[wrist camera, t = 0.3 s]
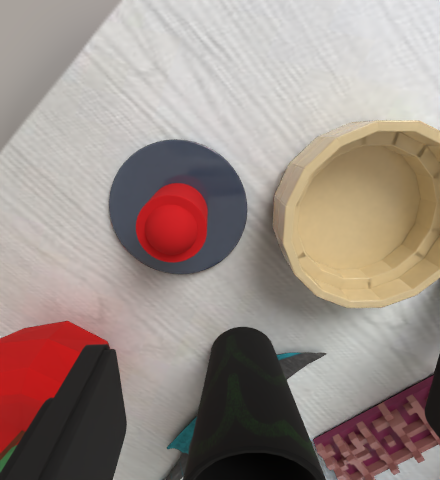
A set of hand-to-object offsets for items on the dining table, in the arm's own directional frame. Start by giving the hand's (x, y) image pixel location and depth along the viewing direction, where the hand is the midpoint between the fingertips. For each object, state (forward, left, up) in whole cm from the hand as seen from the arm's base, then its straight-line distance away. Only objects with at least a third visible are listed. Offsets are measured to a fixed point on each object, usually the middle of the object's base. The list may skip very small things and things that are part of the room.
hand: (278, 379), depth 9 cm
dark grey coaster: (-1, -4, -15) cm, 16 cm away
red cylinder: (-1, -4, -15) cm, 15 cm away
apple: (+12, -14, -16) cm, 24 cm away
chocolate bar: (+20, +18, -15) cm, 31 cm away
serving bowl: (-1, +9, -15) cm, 18 cm away
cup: (+12, +1, -15) cm, 19 cm away
